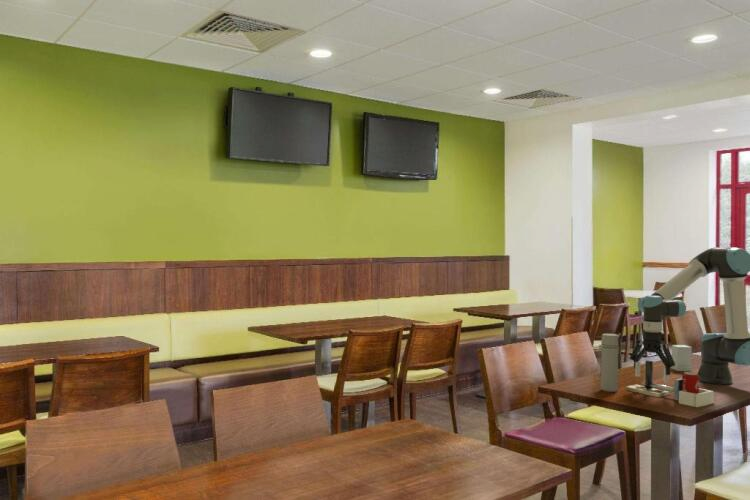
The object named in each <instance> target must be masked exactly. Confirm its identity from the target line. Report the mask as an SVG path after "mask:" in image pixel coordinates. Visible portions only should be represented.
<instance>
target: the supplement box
mask: <svg viewBox="0 0 750 500" xmlns="http://www.w3.org/2000/svg"><path fill="white" fill-rule="evenodd" d="M692 351H693V350H692V346H689V345H687V344H672V345H671V356H672V358H673V360H674V363H675V366H672V367H671V369H672V370H674V371H676V372H692Z"/></svg>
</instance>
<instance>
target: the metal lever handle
mask: <svg viewBox="0 0 750 500" xmlns="http://www.w3.org/2000/svg"><path fill="white" fill-rule="evenodd" d="M644 370H645V371H644V373H645V375H644V376H645V377H644V381H642V382H641V384H642V385H641V386H645V388H646V389H652V388H654V389H659V390H663V391H668V392H669V393H674V398H673V399H675V400H679V391H682V377H681V378H677V379H674V387H673V386H669V385H664V384H658V383H654V382H653V381H654V380H653V378H654V377H653V375H654V371H653V370H654V361H653V360H645V369H644Z"/></svg>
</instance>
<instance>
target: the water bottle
mask: <svg viewBox="0 0 750 500" xmlns="http://www.w3.org/2000/svg"><path fill="white" fill-rule="evenodd" d="M598 346H599V347H598V348H599V352H598V354H600V356H598V358H597V359H598V360H597V361H599V364H597V365H596V369H598V368H599V377H598V371H596V372H595V373H596V379H600V389H601V390H602V391H603V392H606V393H607V392H608V393H615V392H617V391H619V390H618V389H619V334H616V333H602V334H601V344H599V345H598Z"/></svg>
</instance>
